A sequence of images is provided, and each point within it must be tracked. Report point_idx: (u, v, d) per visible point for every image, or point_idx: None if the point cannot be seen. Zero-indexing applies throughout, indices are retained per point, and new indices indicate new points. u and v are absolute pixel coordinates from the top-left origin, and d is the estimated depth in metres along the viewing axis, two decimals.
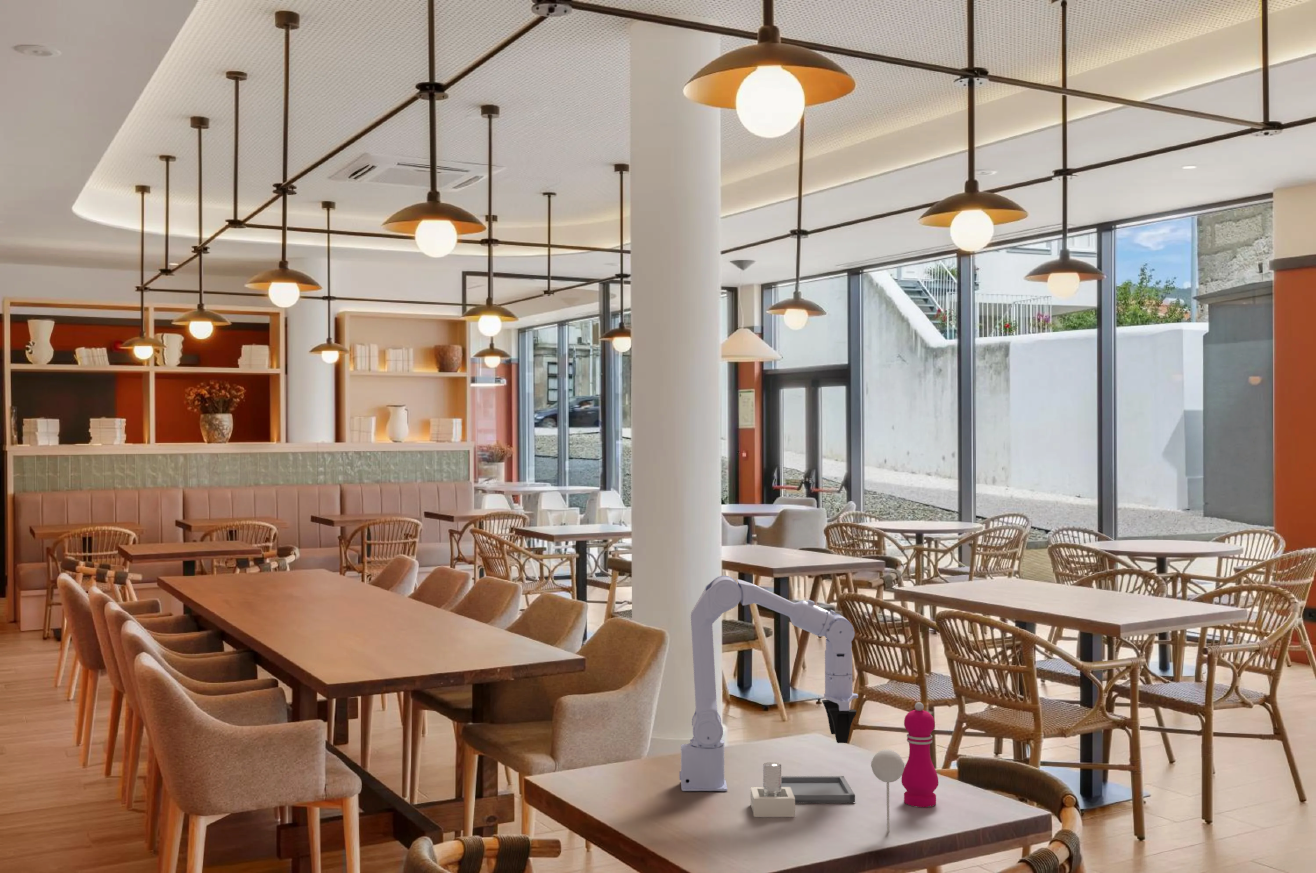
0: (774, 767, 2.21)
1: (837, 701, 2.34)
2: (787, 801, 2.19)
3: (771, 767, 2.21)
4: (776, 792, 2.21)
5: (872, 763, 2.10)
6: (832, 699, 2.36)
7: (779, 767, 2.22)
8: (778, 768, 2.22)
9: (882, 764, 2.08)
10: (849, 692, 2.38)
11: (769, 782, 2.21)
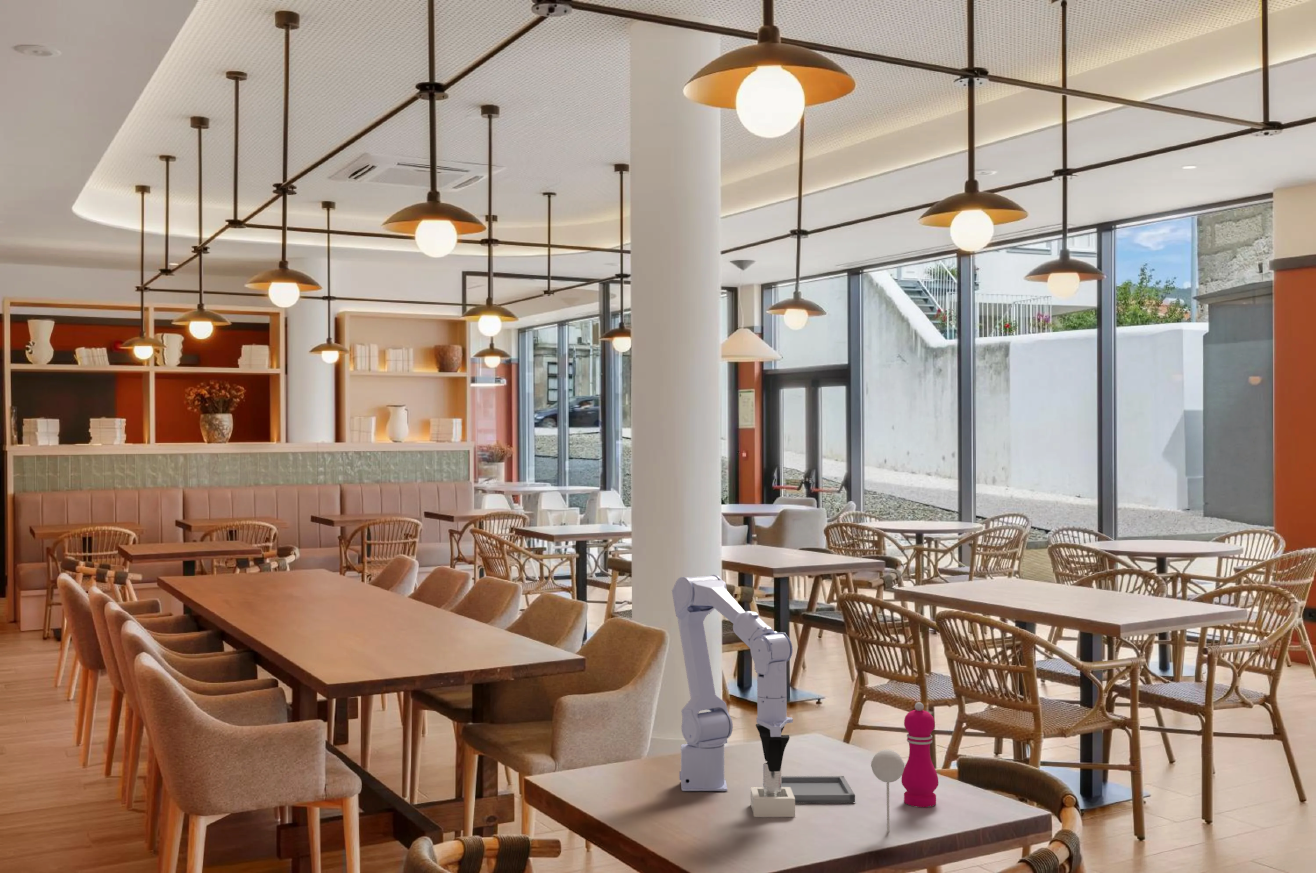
0: None
1: (768, 726, 2.17)
2: (787, 801, 2.19)
3: None
4: (776, 792, 2.21)
5: (872, 763, 2.10)
6: (764, 724, 2.20)
7: None
8: None
9: (882, 764, 2.08)
10: (782, 716, 2.21)
11: (769, 782, 2.21)
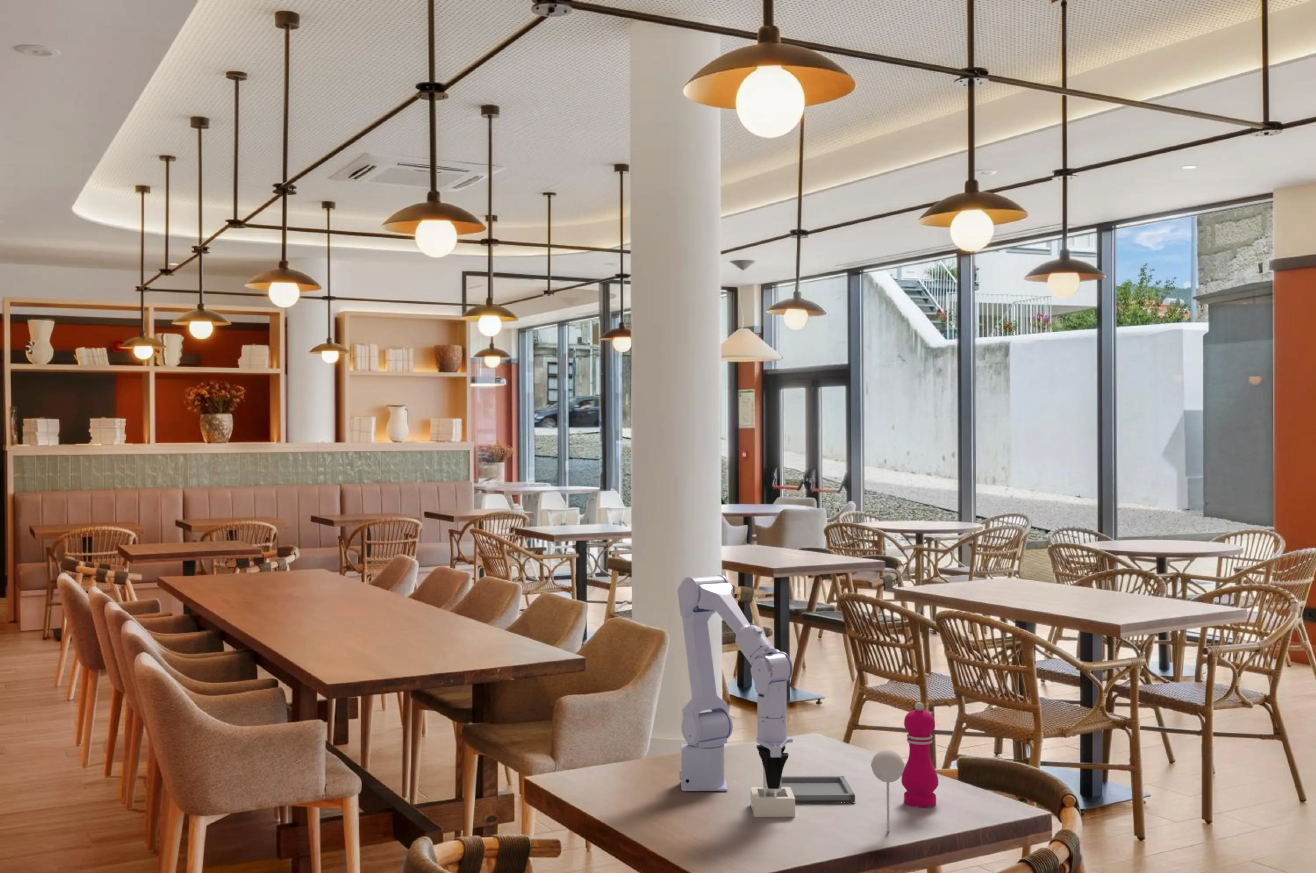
0: None
1: (768, 746, 2.17)
2: (787, 801, 2.19)
3: None
4: (776, 792, 2.21)
5: (872, 763, 2.10)
6: (764, 744, 2.19)
7: None
8: None
9: (882, 764, 2.08)
10: (782, 736, 2.21)
11: None
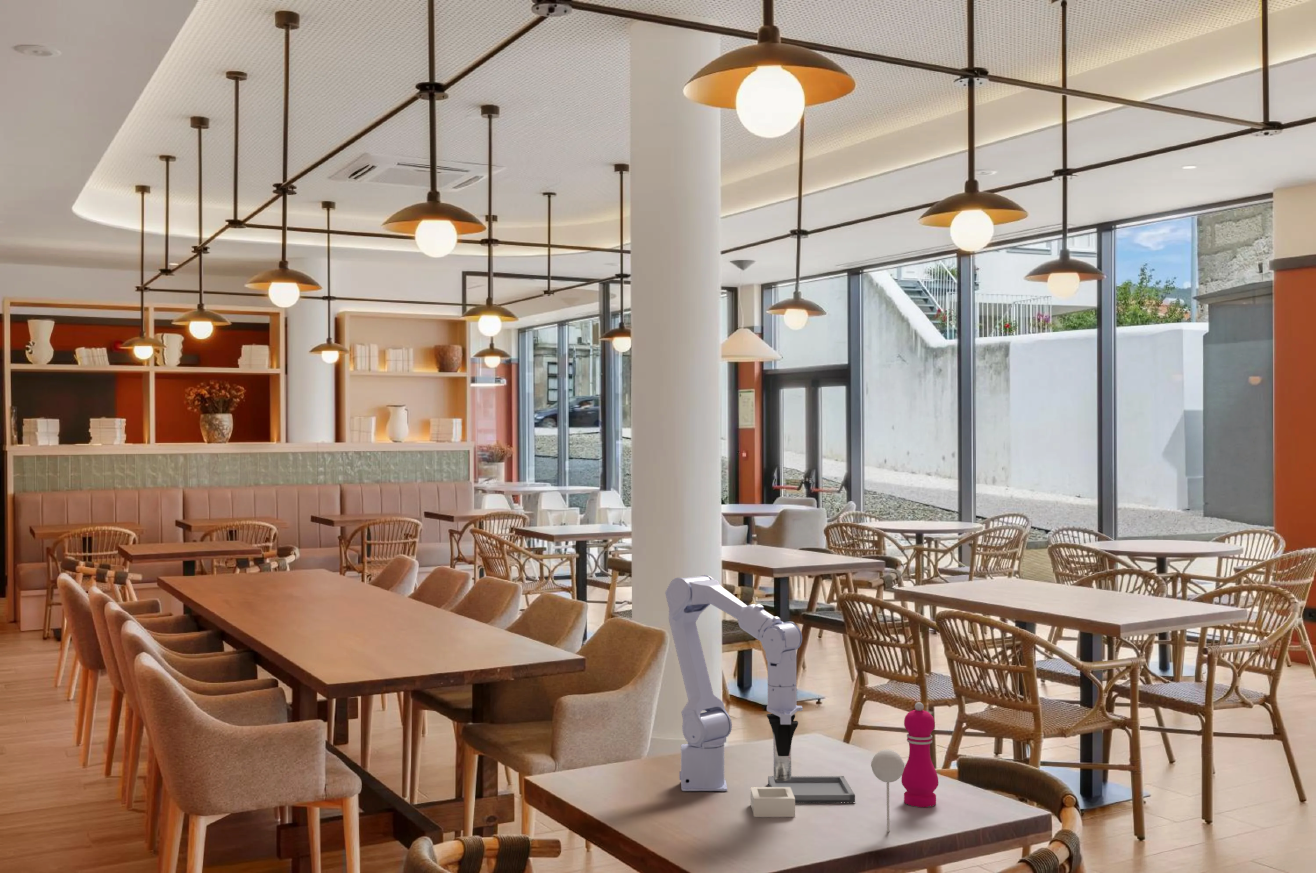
0: None
1: (778, 714, 2.21)
2: (787, 801, 2.19)
3: None
4: (786, 760, 2.25)
5: (872, 763, 2.10)
6: (774, 712, 2.23)
7: None
8: None
9: (882, 764, 2.08)
10: (792, 705, 2.24)
11: None
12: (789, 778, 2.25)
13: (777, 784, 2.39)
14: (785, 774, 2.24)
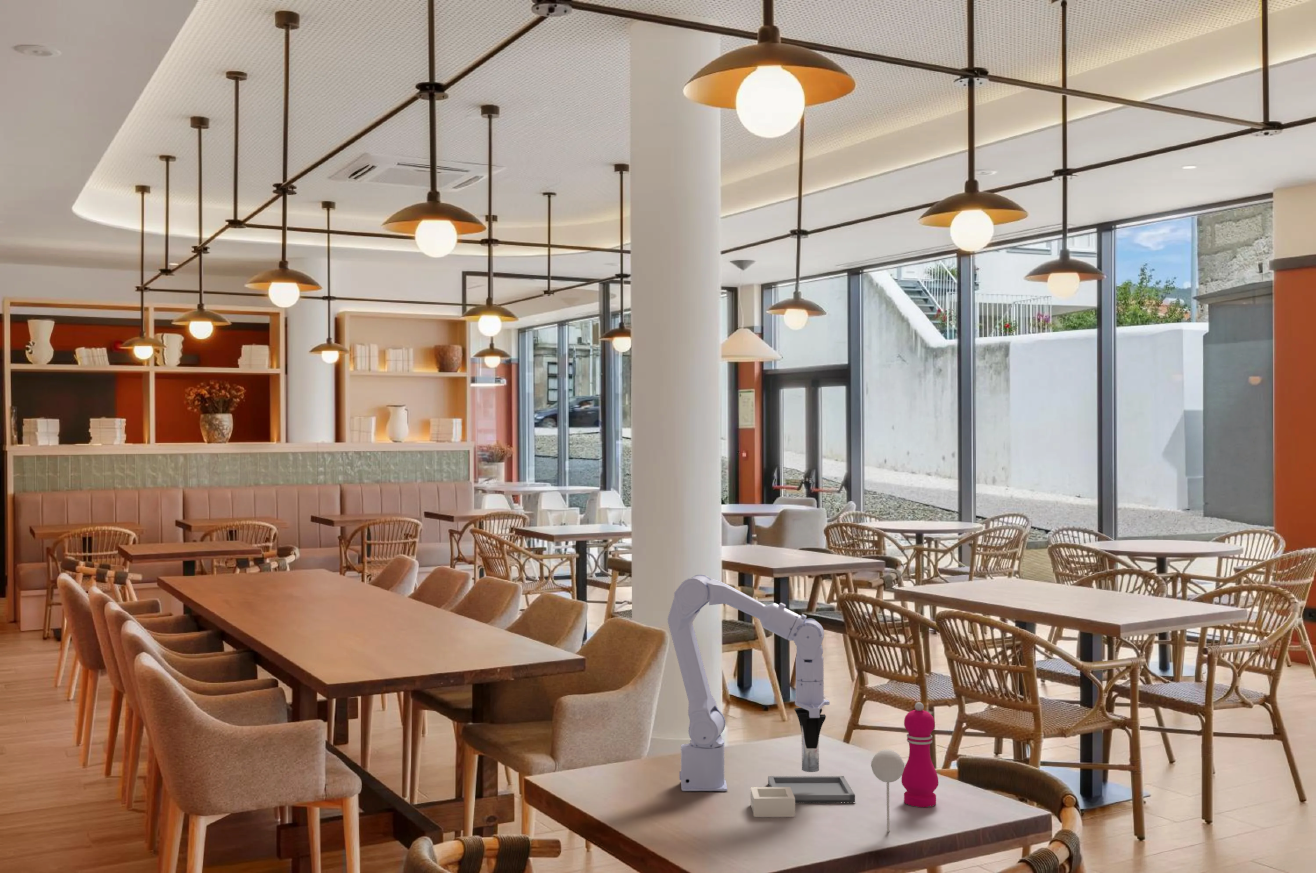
0: None
1: (807, 708, 2.30)
2: (787, 801, 2.19)
3: None
4: (814, 752, 2.33)
5: (872, 763, 2.10)
6: (802, 706, 2.32)
7: None
8: None
9: (882, 764, 2.08)
10: (820, 699, 2.33)
11: None
12: (817, 769, 2.34)
13: (777, 784, 2.39)
14: (813, 766, 2.33)
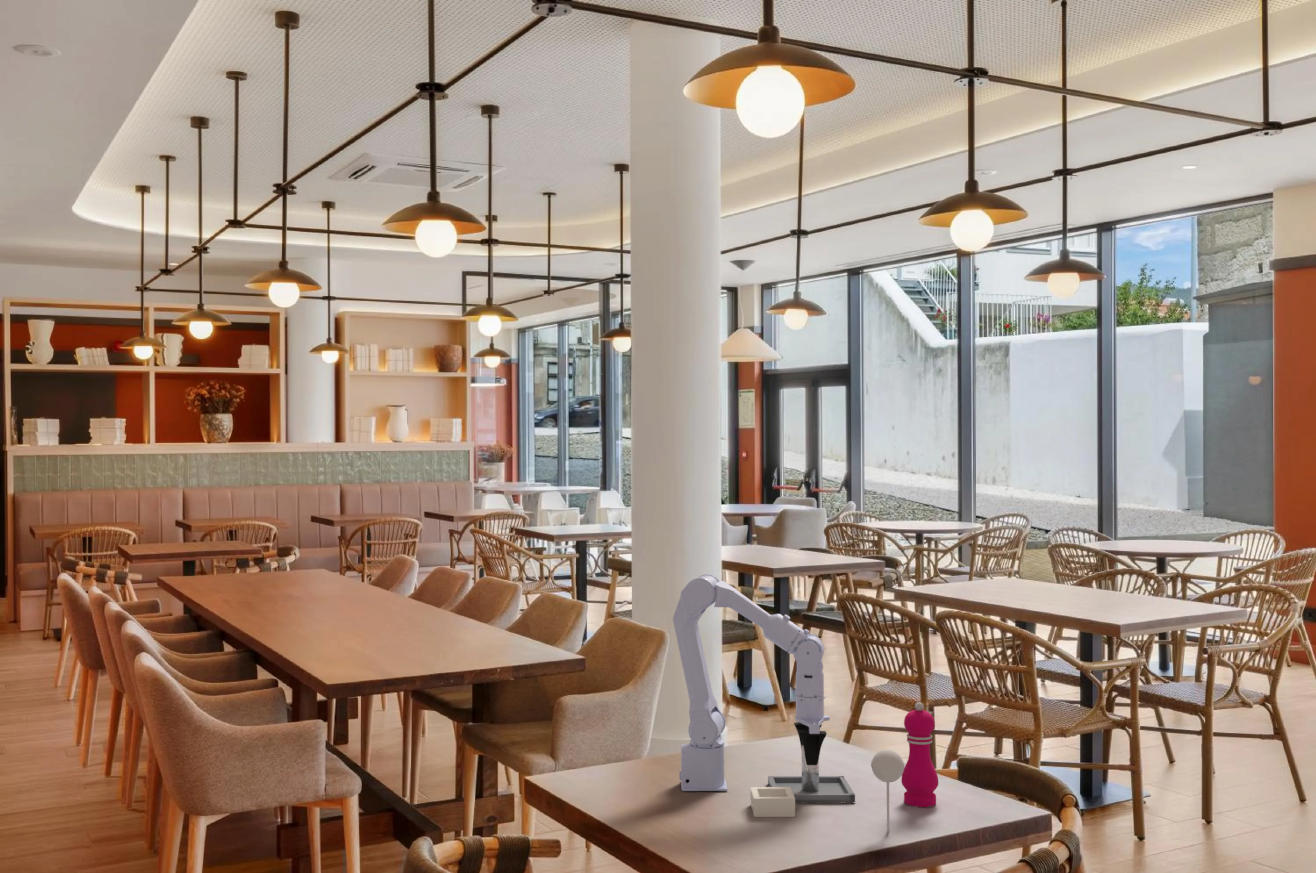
0: None
1: (807, 724, 2.29)
2: (787, 801, 2.19)
3: None
4: (814, 772, 2.33)
5: (872, 763, 2.10)
6: (802, 721, 2.31)
7: None
8: None
9: (882, 764, 2.08)
10: (820, 714, 2.33)
11: None
12: (817, 790, 2.34)
13: (777, 784, 2.39)
14: (813, 786, 2.33)
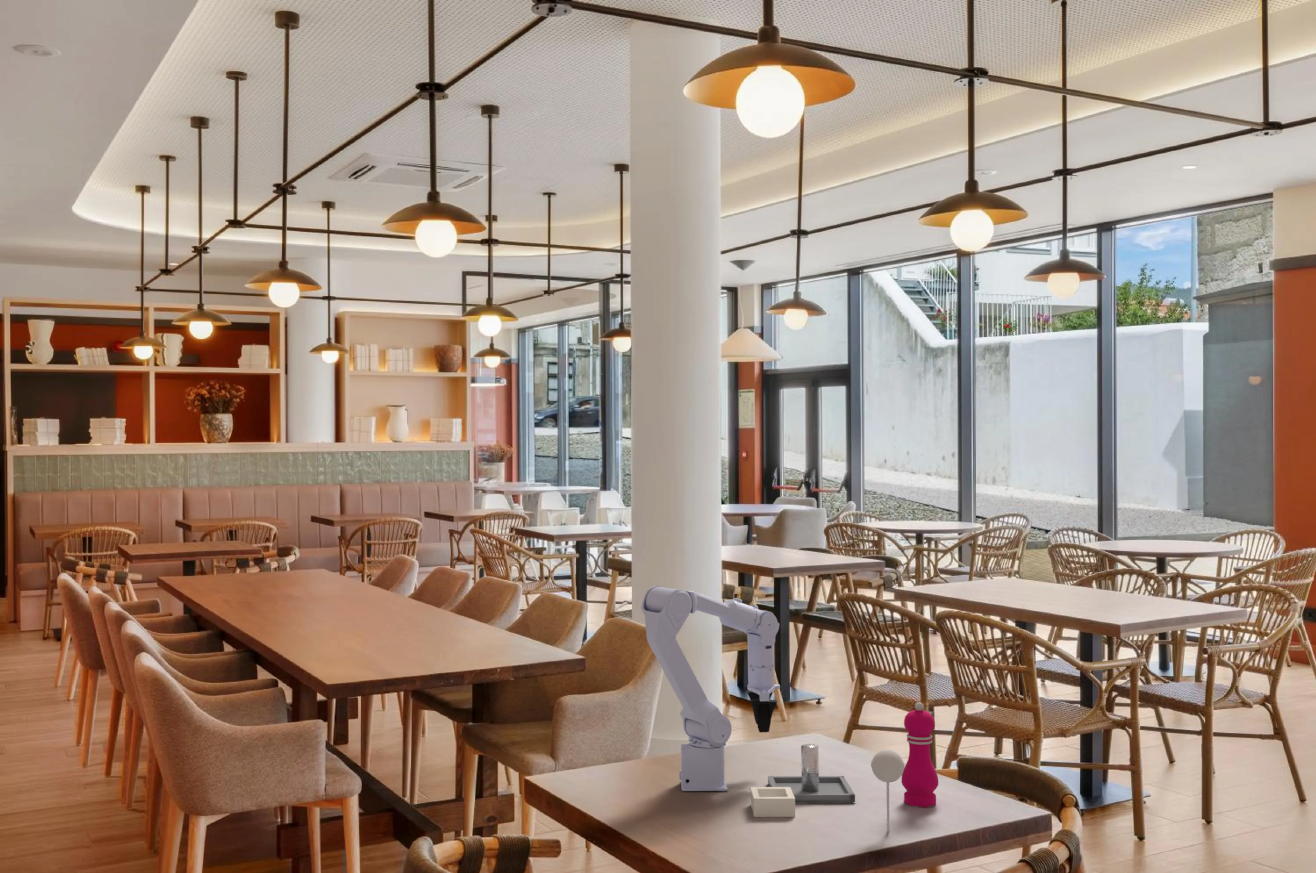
0: (812, 748, 2.34)
1: (758, 692, 2.43)
2: (787, 801, 2.19)
3: (809, 748, 2.34)
4: (814, 772, 2.33)
5: (872, 763, 2.10)
6: (754, 690, 2.45)
7: (816, 748, 2.34)
8: (816, 749, 2.34)
9: (882, 764, 2.08)
10: (770, 683, 2.46)
11: (807, 762, 2.33)
12: (817, 790, 2.34)
13: (777, 784, 2.39)
14: (813, 786, 2.33)
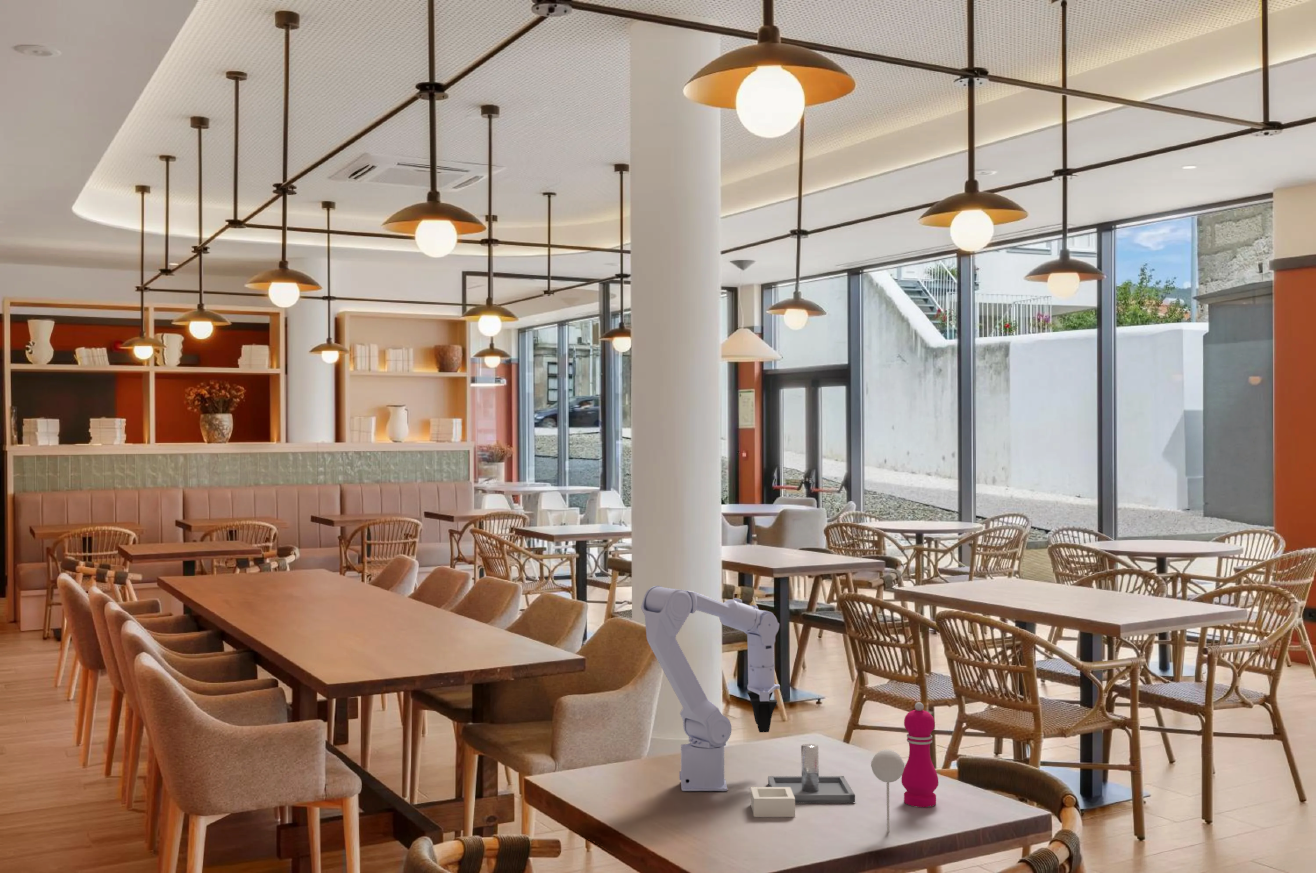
0: (812, 748, 2.34)
1: (758, 692, 2.43)
2: (787, 801, 2.19)
3: (809, 748, 2.34)
4: (814, 772, 2.33)
5: (872, 763, 2.10)
6: (754, 690, 2.45)
7: (816, 748, 2.34)
8: (816, 749, 2.34)
9: (882, 764, 2.08)
10: (770, 683, 2.46)
11: (808, 762, 2.33)
12: (817, 790, 2.34)
13: (777, 784, 2.39)
14: (813, 786, 2.33)
